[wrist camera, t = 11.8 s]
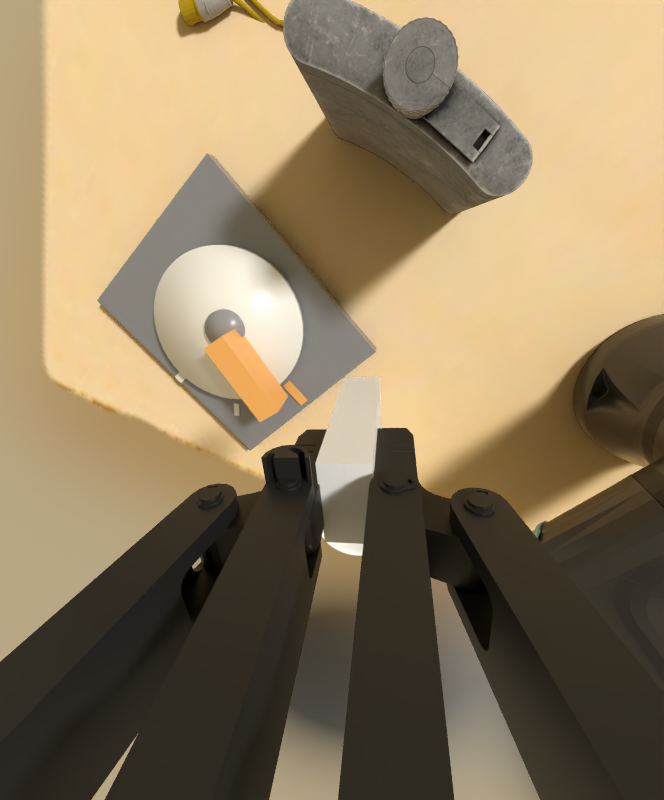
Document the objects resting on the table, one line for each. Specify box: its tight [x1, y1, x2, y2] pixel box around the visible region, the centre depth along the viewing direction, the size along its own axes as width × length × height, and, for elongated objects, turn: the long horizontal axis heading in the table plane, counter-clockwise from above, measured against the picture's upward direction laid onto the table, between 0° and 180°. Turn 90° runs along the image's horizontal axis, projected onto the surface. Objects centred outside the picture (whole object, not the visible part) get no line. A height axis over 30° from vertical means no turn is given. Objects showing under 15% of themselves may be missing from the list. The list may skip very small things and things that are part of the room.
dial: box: [154, 245, 304, 422], centre depth 37 cm, size 18×16×5 cm
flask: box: [283, 0, 532, 214], centre depth 24 cm, size 4×14×18 cm, turn 59°
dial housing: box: [97, 154, 376, 450], centre depth 40 cm, size 24×20×2 cm
